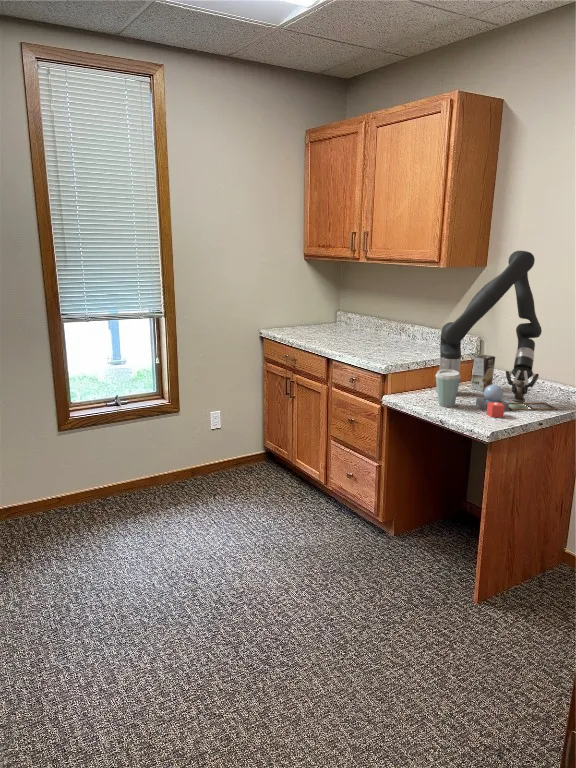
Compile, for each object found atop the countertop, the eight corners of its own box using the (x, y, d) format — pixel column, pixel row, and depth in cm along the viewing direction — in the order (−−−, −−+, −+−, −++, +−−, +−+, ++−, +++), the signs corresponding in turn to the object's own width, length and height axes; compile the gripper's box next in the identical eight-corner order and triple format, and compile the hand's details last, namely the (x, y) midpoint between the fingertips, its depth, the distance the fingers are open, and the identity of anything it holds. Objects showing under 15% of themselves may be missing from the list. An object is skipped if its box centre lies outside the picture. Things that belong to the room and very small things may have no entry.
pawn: (515, 402, 240) (517, 381, 238) (510, 399, 245) (512, 378, 243) (526, 402, 241) (529, 381, 238) (521, 399, 245) (523, 378, 243)
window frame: (510, 410, 238) (510, 409, 238) (500, 404, 248) (500, 402, 248) (557, 410, 240) (557, 408, 240) (545, 403, 250) (545, 402, 249)
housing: (485, 410, 237) (486, 404, 237) (475, 404, 247) (476, 397, 246) (508, 410, 238) (509, 403, 237) (497, 404, 248) (498, 397, 247)
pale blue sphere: (487, 406, 238) (489, 387, 236) (479, 401, 246) (481, 382, 244) (504, 406, 239) (506, 387, 237) (496, 401, 246) (498, 382, 244)
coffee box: (482, 391, 269) (486, 358, 265) (470, 389, 273) (473, 356, 270) (492, 388, 275) (495, 356, 271) (480, 386, 280) (483, 354, 276)
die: (491, 417, 228) (492, 405, 227) (486, 414, 233) (487, 402, 232) (503, 417, 228) (504, 405, 227) (498, 413, 233) (499, 401, 232)
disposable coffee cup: (459, 409, 239) (462, 375, 235) (433, 407, 241) (436, 373, 237) (457, 402, 249) (460, 369, 245) (432, 401, 251) (434, 368, 247)
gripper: (507, 354, 248) (501, 386, 240) (542, 356, 242) (537, 390, 234) (507, 363, 254) (501, 395, 246) (541, 366, 248) (536, 399, 240)
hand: (519, 393), depth 240 cm, fingers closed on pawn, 3 cm apart
